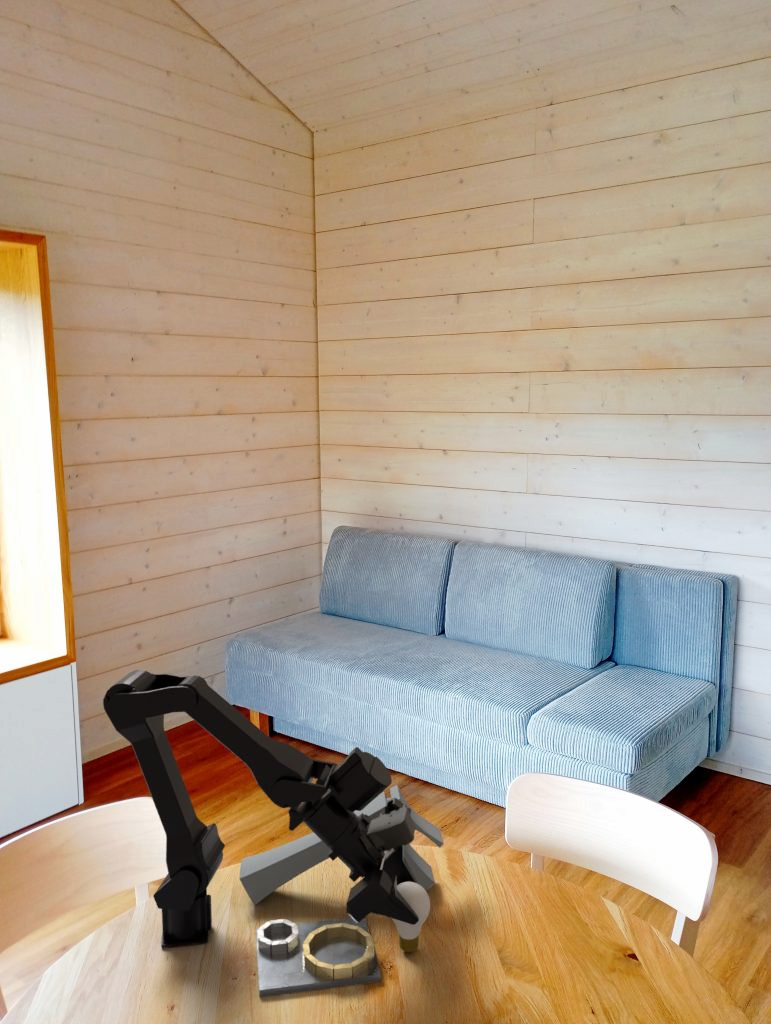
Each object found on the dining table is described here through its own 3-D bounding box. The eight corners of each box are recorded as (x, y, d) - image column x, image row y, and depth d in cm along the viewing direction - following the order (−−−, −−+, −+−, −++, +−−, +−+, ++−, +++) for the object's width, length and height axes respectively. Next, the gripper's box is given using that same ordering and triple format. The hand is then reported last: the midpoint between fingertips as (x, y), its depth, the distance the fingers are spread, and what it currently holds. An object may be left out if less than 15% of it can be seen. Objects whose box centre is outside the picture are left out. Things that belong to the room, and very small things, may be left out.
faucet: (287, 966, 132) (461, 880, 132) (238, 877, 129) (416, 790, 130) (289, 940, 138) (455, 858, 138) (241, 856, 135) (411, 772, 136)
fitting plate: (259, 997, 111) (259, 979, 110) (255, 935, 123) (255, 919, 123) (380, 981, 114) (380, 964, 113) (365, 922, 126) (364, 906, 126)
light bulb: (438, 950, 120) (438, 884, 119) (410, 970, 116) (410, 902, 114) (407, 932, 124) (407, 868, 123) (379, 951, 120) (379, 885, 118)
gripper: (371, 826, 108) (457, 914, 108) (389, 763, 126) (463, 838, 126) (310, 879, 110) (395, 965, 110) (337, 810, 128) (410, 883, 129)
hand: (418, 908), depth 119 cm, fingers closed on light bulb, 6 cm apart
